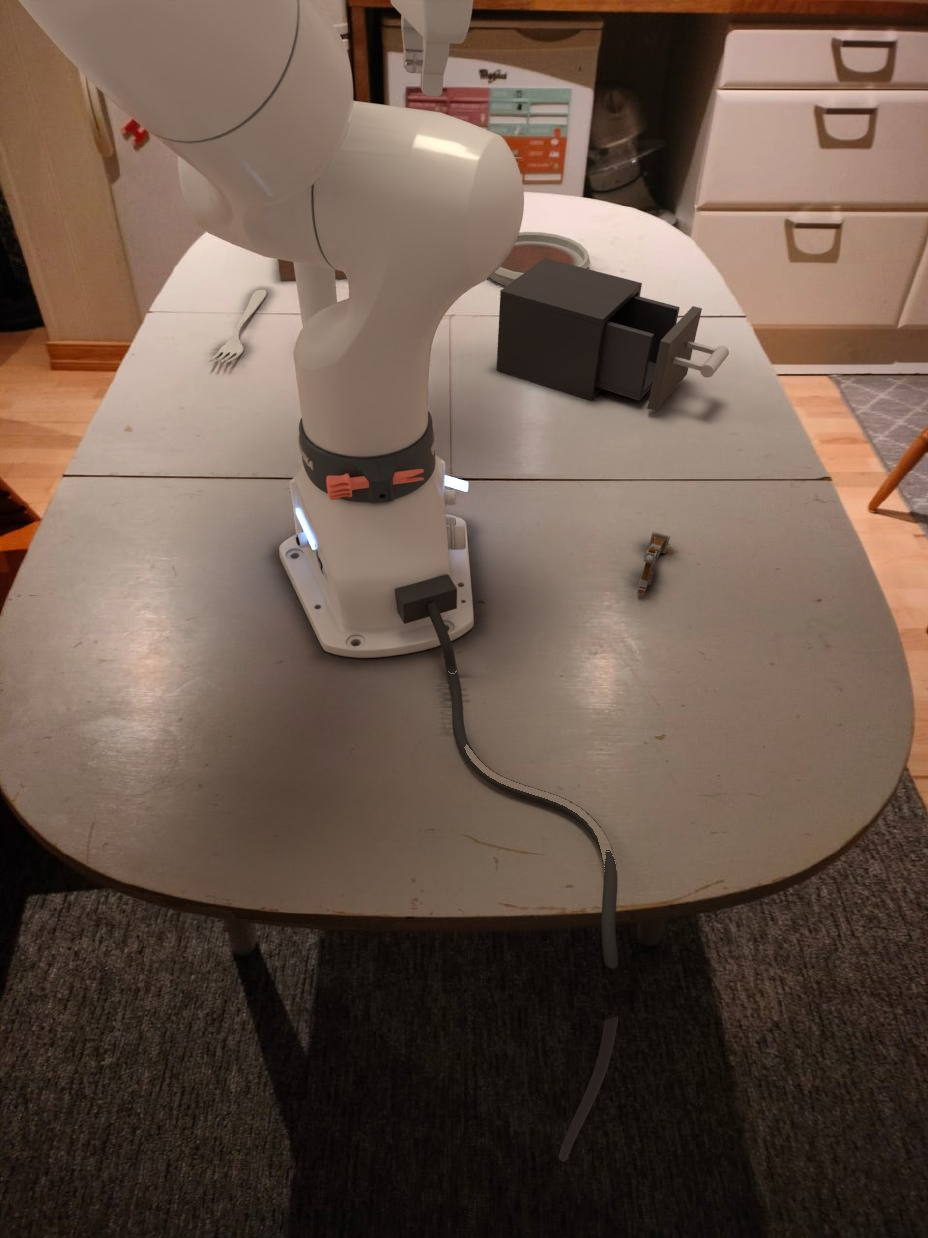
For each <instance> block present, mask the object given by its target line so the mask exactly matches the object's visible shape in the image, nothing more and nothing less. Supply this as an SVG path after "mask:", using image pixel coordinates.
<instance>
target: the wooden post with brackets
mask: <svg viewBox="0 0 928 1238" xmlns="http://www.w3.org/2000/svg"><path fill="white" fill-rule="evenodd" d="M670 538H671V535H668V534H664V533H660V532H656V531H652V532H651V535H650V539H649V543H648V547H647V550H646V551H645V553H644V557H643V563H644V567H643V571H641V573H640V577H639V580H638V589H637V594H639V595H644V594H645V593H646V590H647V586H648V585H651V582H652V578H653V574H654V571H651V569H652V565H654V563H655V562H656V560H658V559H659V556H660V554H661V553H662V554H666V553H667V551H668V550H667V549H668V546H669V542H670Z"/></svg>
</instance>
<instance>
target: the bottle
mask: <svg viewBox="0 0 928 1238" xmlns="http://www.w3.org/2000/svg"><path fill="white" fill-rule="evenodd" d="M293 263H294V270H295V277H296V280H295V283H296V291H297V298H298V305H299V311H300V317H301V326H302V327H303V326H304V325H305V324H306V322H307V321H308V320H309V319H310V318H311V317H312V316H314V315H315V314H316V313H318V312H319V311H321V310H323V309H325V308H326V307H328V306H330V305H332V304H335V303H337V302H338V297H337V296H338V295H337V284H336V283H337V282H336V279H335V270H334V269H329V268H324V267H318V266H313V265H307V264H302V263H296V262H293Z"/></svg>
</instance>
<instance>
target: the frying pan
mask: <svg viewBox="0 0 928 1238" xmlns="http://www.w3.org/2000/svg"><path fill="white" fill-rule="evenodd" d="M543 258H547V259H551V260H555V261H559V262H563V263H567V264H570V265H574V266H578V267H582V268H586V269H588V268H589V265H590V264H591V260H590V255H589V253H588V250H587V249H586V248H585V247H584V246H583V245H582V244H581V243H579V242H577V241H575V240H573V239H572V238H569V237H566V236H563V235H559V234H556V233H549V232H543V231H519V235H518V237H517V240H516V242H515V244H514V246H513V249H512V250H511V252H510V254H509V255H508V257H507V258H506V260H505V261H504V262H503V264H502V265H501V266H500V267H499V268H498V269H497V270H496V271H495V272H494V273H493V274H492V275H491V276H490V277H489V278H488V279H491V280H492V281H494V282H495V283H497V284H499V285H502V286H505V287H506V286H507V285H509V284H510V283H511V282H513V281H514V280H515V279H517V278H518V277H519V276H521V275H522V274H523V273H525V272H526V271H527V270H529V269H530V268H531V267H533V266H534V265H535V264H537V263H538V262H539V261H541V260H542V259H543Z"/></svg>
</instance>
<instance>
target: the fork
mask: <svg viewBox="0 0 928 1238" xmlns="http://www.w3.org/2000/svg"><path fill="white" fill-rule="evenodd" d="M267 295H268V293H267V290H266V289H257V290H256V291H254V292H253V294H251V297H250V299H249V301H248V303H247V305H246V308H245V309H244V312H243V314H242V316H241V318H240V320H239V322H238V323H237V325H236V326H235V328H234V330H233V332H232V335H231V337H230V338H229V340H228V341H227V342H225V343H224V345H222V346H221V347H220V348H219V349H218V351H217V352H216V354H215V355H214V356H212V357H211V358H210V359H208V362H209V363H210V362H213V363H217V362H219V363H220V364H222V363H224V362H225V364H228V363H232V361H234V360H235V359H237V358H238V357H239V356H240V355H242V353H243V352H244V346H243V344H242V342H241V340H240V331H241V328H242V327H243V326H244V325H245V324H246V322H247V321H248V320H249V318H250V317H251V316H252V315H253V314H254V313H255V311H257V309H258V307H260V306H261V304H262V303H263V301H264V300H265V298H266V297H267Z"/></svg>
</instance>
